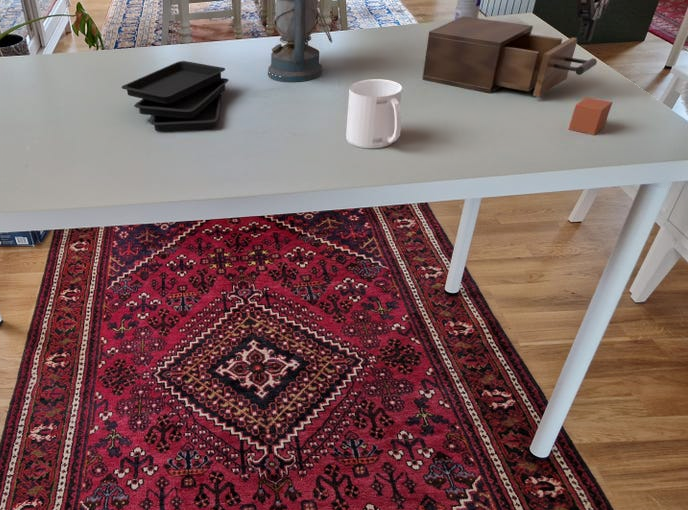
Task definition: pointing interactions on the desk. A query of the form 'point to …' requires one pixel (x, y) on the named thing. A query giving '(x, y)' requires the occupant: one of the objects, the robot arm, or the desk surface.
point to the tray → (180, 96)
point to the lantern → (296, 41)
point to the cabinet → (469, 52)
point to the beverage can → (467, 8)
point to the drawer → (538, 63)
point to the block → (590, 115)
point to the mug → (374, 113)
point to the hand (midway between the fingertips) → (583, 40)
